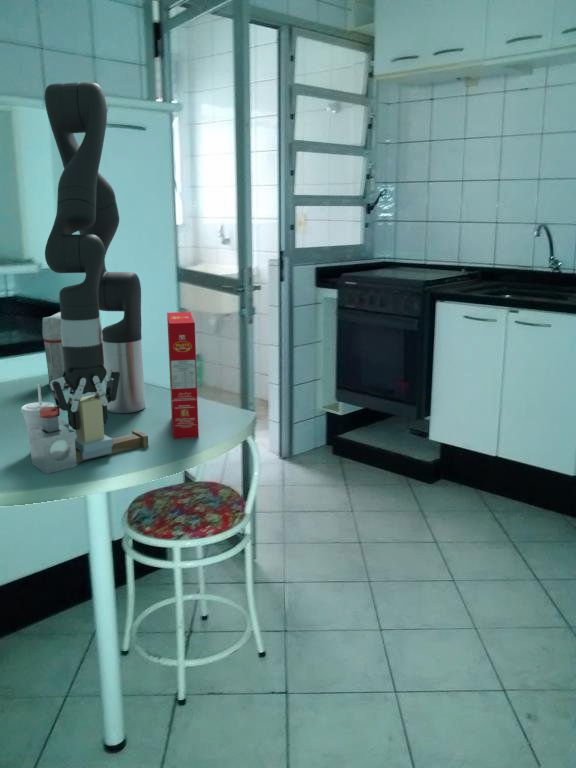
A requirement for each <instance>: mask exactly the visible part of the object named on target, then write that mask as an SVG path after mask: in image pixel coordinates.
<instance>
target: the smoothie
mask: <svg viewBox="0 0 576 768" xmlns="http://www.w3.org/2000/svg"><path fill="white" fill-rule="evenodd" d="M37 395H38V402H36V401H35V402H31V403H26V404H25V405H23V406H21V409H20V410H21V414H22V415H23V417H24V422H25V425H26V429H27V434H28V439H29V440H30V437H29V429H32V428H37V427H42V426H43V421H42V418H41V417H40V413H39V410H40V409H41V408H44V407H56V404H55V403H53V402H50V401H43V399H42V389H41V384H39V383H38V384H37Z"/></svg>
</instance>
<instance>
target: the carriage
mask: <svg viewBox="0 0 576 768" xmlns="http://www.w3.org/2000/svg"><path fill="white" fill-rule="evenodd" d="M76 411H78V415H79V427H80V428H79V429H78V430H75V432H76V434H74V437H75V447H76V448H77V449H79V450H80V451H81V459H83V460H84V459H88V458H92V457H96V456H100V455H104V454H109V453H112V448H111V447H112V446H113V438H112V437H109V436H108V435H107V434H105V427H104V424H103V410H102V399H100V398H98V397H96V396H94V394H92V395H87V396H82V397H81V400H80V401H79V403H78V407H77V410H76ZM58 423H60V424H62V425H64V426H65V427H67V428H69V429H70V425H69V423H68V422H66V421H65V420H63V419H61V418H59V417H58ZM109 455H110V454H109ZM84 461H85V460H84Z"/></svg>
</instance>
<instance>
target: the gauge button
mask: <svg viewBox="0 0 576 768" xmlns="http://www.w3.org/2000/svg"><path fill="white" fill-rule="evenodd" d="M60 410H61V409H60V408H59V407H57V406H55V407H44V408H41V409H40V410H39V413H40V417H41V418H42V421H43V432H45V433H46V434H49V433H54V432H58V431H59V423H58V418H59V416H60V415H61V412H60Z"/></svg>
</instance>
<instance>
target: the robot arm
mask: <svg viewBox="0 0 576 768" xmlns="http://www.w3.org/2000/svg"><path fill="white" fill-rule="evenodd" d="M44 104H45V109H46V115H47V118H48V121H49V125H50V129H51V131H52V134H53V138H54V140H55V143H56V147H57V149H58V152H59V156H60V159H61V163H62V167H63V170H62V173H61V175H60V177H59V180H58V185H57V200H56V202H57V205H56V206H57V207H56V215H55V218H54V221H53V226H52V228H51V231H50V232H49V235H48V237H47V241H46V244H45V247H44V248H45V249H44V258H45V262H46V265H47V266H48V268H49V269H50V270H51V271H52V272H54V273H56V274H57V273H58V274H85V277H84V280H83V281H82V282H81V283H76V284H72V285H68V286H64V287H62V288H61V289H60V291H59V296H58V297H59V307H60V308H59V310H60V311H59V312H61V340H62V352H63V364H64V373H63V376H62V377H61V378H59V379H56V380H50V381H49V380H48V385H49V388H50V390H51V393H52V396H53V399H54V404H55V406H56V407H59V410H62V411H64V412H65V411H66V412H67V420H68V422H67V423H68V424H69V427H71V428H72V429H73V431H74V430H75V431H76V430H78V429H79V428H80V427H79V415H78V411H76V410H77V407H78V403H79V401H80V400H81V397H83V395H86V394H87V393H91V394H92V395H94V396H96V397H98V398H100V399H102V410H103V424H106V423H107V421H108V419H109V414H108V412H110V413H113V414H114V413H116V414H129V413H130V414H131V413H137V412H140V411H143V410H144V409H146V396H145V375H144V360H143V359H144V358H143V343H142V339H143V338H142V337H143V336H142V285H141V280H140V277H139V276H138V274H137V273H135V272H132V271H108V270H107V268H106V261H105V259H106V255H107V252H108V249H109V247H110V245H111V243H112V242H113V239H114V237H115V235H116V232H117V230H118V227H119V224H120V215H119V207H118V204H117V199H116V194H115V191H114V189H113V187H112V185H111V183H109V181H108V180H107V178H105V177H104V176H103V175H102V173H101V172H100V171H99V169H100V163H101V158H102V153H103V149H104V141H105V136H106V131H107V129H106V128H107V123H108V120H107V119H108V107H107V102H106V97H105V93H104V91H103V89H102V87H101V86H100V85H99V84H98V83H96V82H90V81H85V82H84V81H81V82H80V81H79V82H78V81H77V82H63V83H62V82H60V83H59V82H57V83H51V84H49V85H48V86H46V88H45V91H44ZM83 133H85V134H84V137H83V140H82V142H81V144H80V145H79V143H78V142H77V139H76V137H75V134H83ZM76 232H79V234H74V233H76ZM100 311H102V312H123V317H122V319H121V320H120V321H118V322H116V323H115V322H114V323H113V324H110V325H107V326H105V327H102V323H101V318H100ZM103 382H104V388H103V386H102V384H103ZM64 383H66V384H67V385H68V386H67V387H68V388H69V389H68V392H67V401H66V398H65V395H64V392H63V390H64V388H65V386H64ZM104 389H105V390H104Z"/></svg>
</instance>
